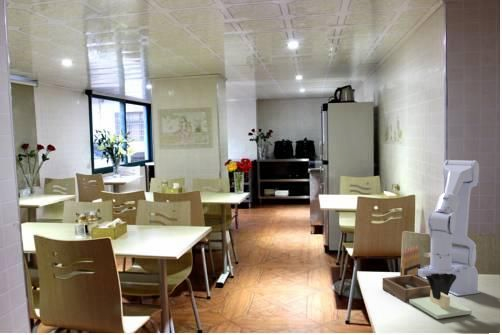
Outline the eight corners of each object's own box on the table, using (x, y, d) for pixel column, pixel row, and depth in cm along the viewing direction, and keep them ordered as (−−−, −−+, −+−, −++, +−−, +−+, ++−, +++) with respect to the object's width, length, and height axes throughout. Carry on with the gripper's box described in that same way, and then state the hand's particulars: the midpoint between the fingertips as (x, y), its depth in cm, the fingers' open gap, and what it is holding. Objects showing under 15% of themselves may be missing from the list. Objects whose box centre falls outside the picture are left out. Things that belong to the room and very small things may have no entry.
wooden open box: (412, 285, 143) (412, 274, 143) (436, 298, 132) (437, 285, 131) (382, 289, 140) (382, 278, 139) (405, 302, 128) (405, 290, 128)
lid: (441, 300, 130) (441, 284, 130) (471, 316, 118) (472, 298, 118) (409, 304, 126) (409, 288, 126) (437, 321, 115) (437, 303, 115)
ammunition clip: (404, 283, 146) (405, 249, 145) (399, 281, 147) (400, 248, 147) (420, 276, 153) (421, 245, 152) (416, 275, 154) (416, 244, 153)
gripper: (430, 258, 115) (429, 305, 116) (471, 254, 119) (470, 299, 120) (413, 252, 122) (412, 296, 123) (453, 248, 126) (452, 291, 127)
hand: (439, 297), depth 122 cm, fingers closed
